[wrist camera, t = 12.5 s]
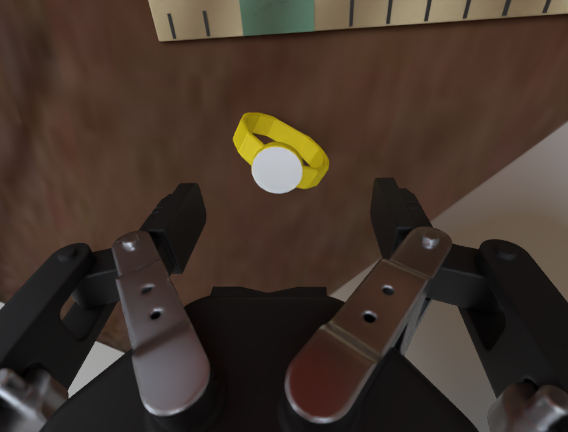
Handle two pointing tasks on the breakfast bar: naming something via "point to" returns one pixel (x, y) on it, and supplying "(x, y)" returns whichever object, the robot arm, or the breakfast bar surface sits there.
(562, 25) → the breakfast bar surface
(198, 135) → the breakfast bar surface
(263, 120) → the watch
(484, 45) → the breakfast bar surface
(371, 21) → the ruler
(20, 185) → the breakfast bar surface
